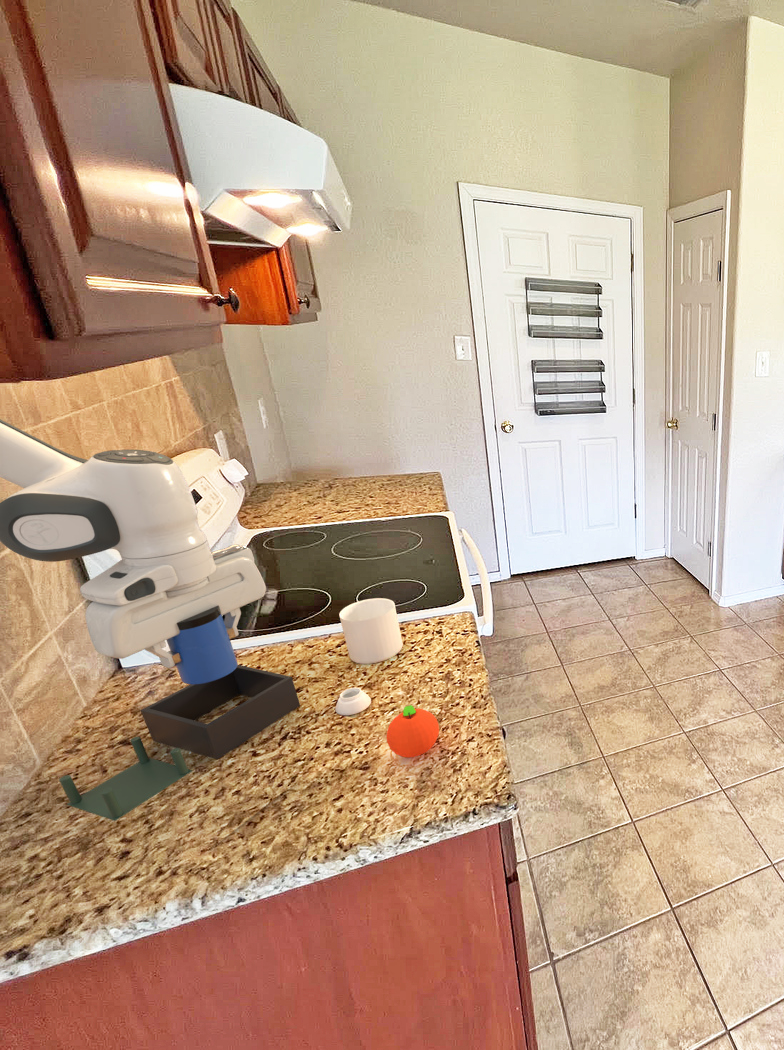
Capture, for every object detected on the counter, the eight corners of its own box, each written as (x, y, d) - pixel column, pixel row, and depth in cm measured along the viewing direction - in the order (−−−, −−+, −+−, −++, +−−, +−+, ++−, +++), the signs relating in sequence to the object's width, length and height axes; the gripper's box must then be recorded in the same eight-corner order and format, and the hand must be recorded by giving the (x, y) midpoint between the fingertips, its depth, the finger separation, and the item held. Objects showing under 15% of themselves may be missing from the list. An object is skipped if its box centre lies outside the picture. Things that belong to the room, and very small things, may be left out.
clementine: (388, 741, 88) (379, 703, 85) (437, 726, 91) (430, 689, 89) (393, 774, 82) (384, 734, 79) (445, 756, 85) (438, 717, 83)
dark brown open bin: (155, 746, 86) (139, 710, 83) (242, 695, 97) (231, 662, 95) (219, 764, 83) (205, 727, 80) (301, 710, 94) (291, 676, 92)
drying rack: (68, 809, 74) (53, 780, 73) (149, 762, 83) (137, 734, 81) (117, 826, 72) (103, 796, 71) (195, 775, 80) (184, 747, 79)
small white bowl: (378, 702, 97) (356, 695, 98) (375, 687, 95) (352, 681, 97) (352, 720, 92) (329, 713, 94) (348, 705, 91) (325, 698, 93)
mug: (402, 658, 109) (393, 615, 105) (346, 668, 105) (335, 624, 102) (405, 628, 119) (397, 589, 116) (354, 637, 115) (345, 596, 112)
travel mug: (169, 680, 84) (145, 619, 80) (217, 656, 90) (197, 598, 86) (202, 688, 82) (180, 626, 78) (249, 663, 88) (230, 605, 84)
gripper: (232, 537, 89) (256, 615, 94) (62, 593, 71) (103, 685, 76) (263, 542, 88) (285, 620, 93) (97, 600, 70) (137, 694, 75)
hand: (202, 650), depth 84 cm, fingers closed on travel mug, 6 cm apart
